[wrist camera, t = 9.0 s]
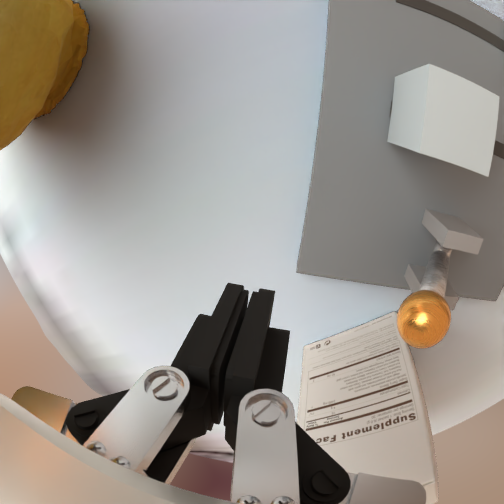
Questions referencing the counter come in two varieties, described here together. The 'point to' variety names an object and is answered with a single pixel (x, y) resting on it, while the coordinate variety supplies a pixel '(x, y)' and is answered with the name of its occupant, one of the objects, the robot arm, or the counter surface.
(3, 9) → the pitcher
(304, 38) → the counter surface
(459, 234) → the panel
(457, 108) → the white cube
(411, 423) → the supplement box
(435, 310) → the lever
